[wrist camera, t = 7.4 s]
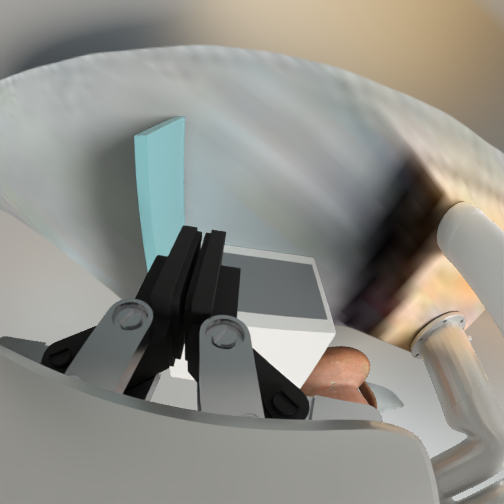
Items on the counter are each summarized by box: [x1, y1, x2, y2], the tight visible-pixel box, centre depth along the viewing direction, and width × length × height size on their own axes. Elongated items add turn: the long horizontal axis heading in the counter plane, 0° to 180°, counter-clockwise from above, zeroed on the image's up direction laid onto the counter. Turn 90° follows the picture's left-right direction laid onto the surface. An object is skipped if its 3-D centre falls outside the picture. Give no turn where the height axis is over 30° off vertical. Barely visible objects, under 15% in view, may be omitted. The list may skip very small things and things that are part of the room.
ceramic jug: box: [299, 346, 377, 409], centre depth 37 cm, size 18×14×14 cm
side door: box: [134, 116, 185, 271], centre depth 21 cm, size 14×1×10 cm, turn 175°
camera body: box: [170, 242, 336, 388], centre depth 28 cm, size 16×10×12 cm, turn 80°
